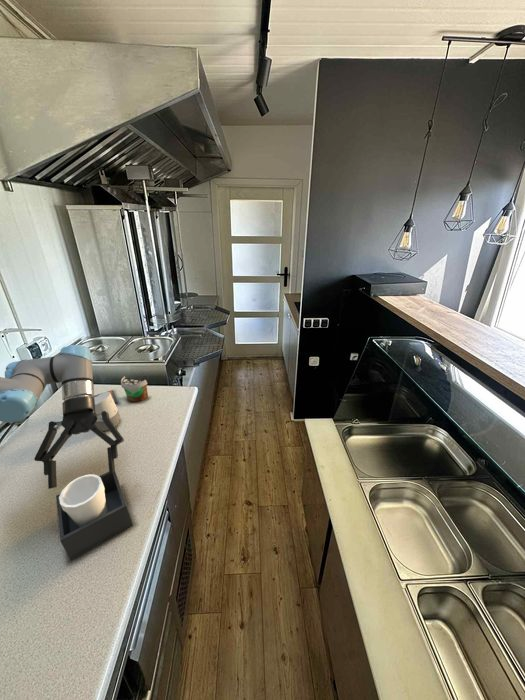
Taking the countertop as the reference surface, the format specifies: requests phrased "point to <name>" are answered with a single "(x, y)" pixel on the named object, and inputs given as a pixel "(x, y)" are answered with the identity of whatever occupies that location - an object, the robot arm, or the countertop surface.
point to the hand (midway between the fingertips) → (83, 480)
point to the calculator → (111, 395)
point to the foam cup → (84, 499)
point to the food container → (135, 389)
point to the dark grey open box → (95, 521)
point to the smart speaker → (106, 404)
